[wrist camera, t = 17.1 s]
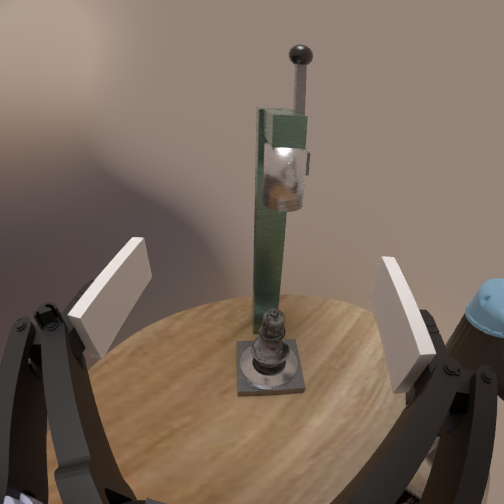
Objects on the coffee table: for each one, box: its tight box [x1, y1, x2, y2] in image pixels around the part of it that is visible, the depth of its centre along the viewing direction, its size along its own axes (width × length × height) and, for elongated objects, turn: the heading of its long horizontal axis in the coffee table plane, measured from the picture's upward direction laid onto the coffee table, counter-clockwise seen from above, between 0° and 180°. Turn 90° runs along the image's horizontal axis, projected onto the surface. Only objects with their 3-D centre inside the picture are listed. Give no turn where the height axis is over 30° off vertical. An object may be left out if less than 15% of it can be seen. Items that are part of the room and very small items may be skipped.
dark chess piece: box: [251, 308, 290, 376], centre depth 38 cm, size 6×6×12 cm
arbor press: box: [237, 45, 313, 396], centre depth 33 cm, size 10×17×46 cm, turn 3°
